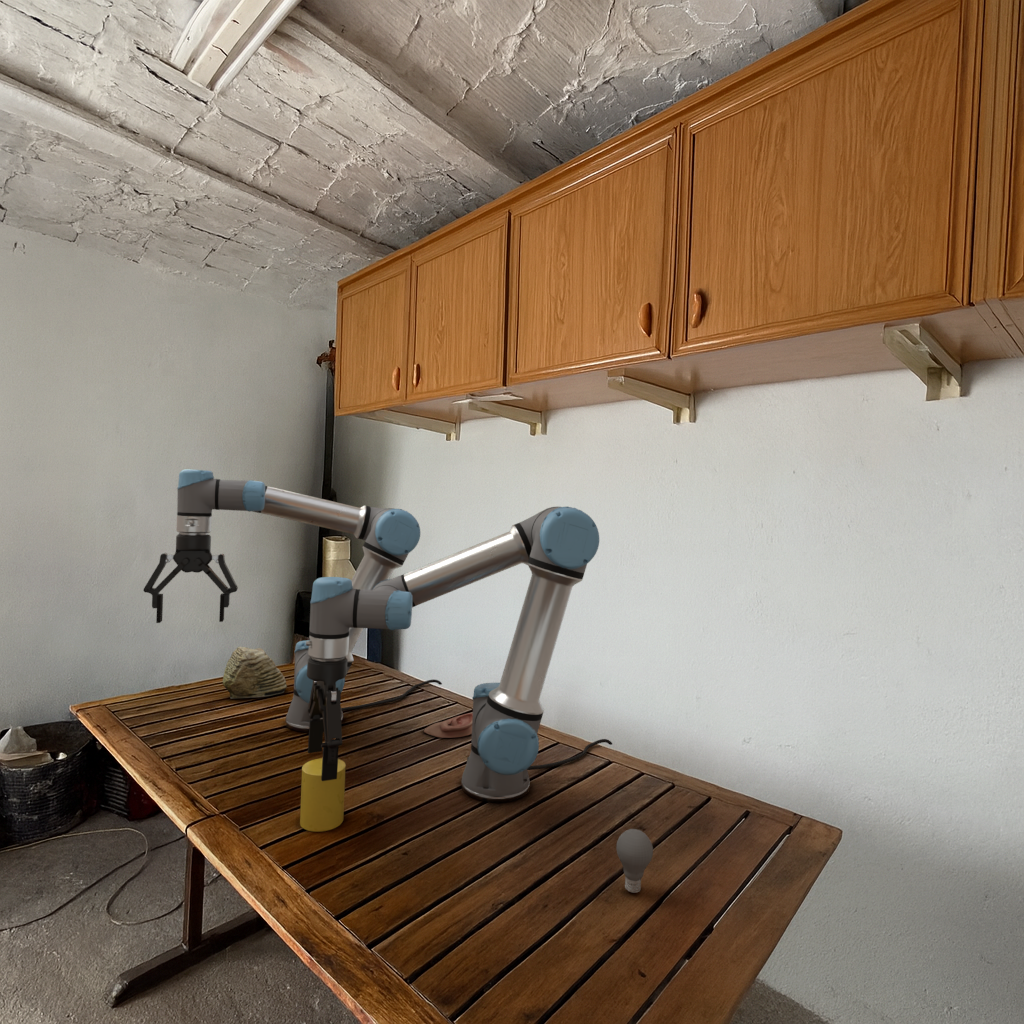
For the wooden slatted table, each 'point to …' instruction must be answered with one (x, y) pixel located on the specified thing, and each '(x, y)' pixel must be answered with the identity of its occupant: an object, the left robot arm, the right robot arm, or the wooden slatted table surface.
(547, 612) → the right robot arm
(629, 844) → the light bulb
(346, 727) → the wooden slatted table surface
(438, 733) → the anatomical model
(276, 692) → the fossil
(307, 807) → the canister
